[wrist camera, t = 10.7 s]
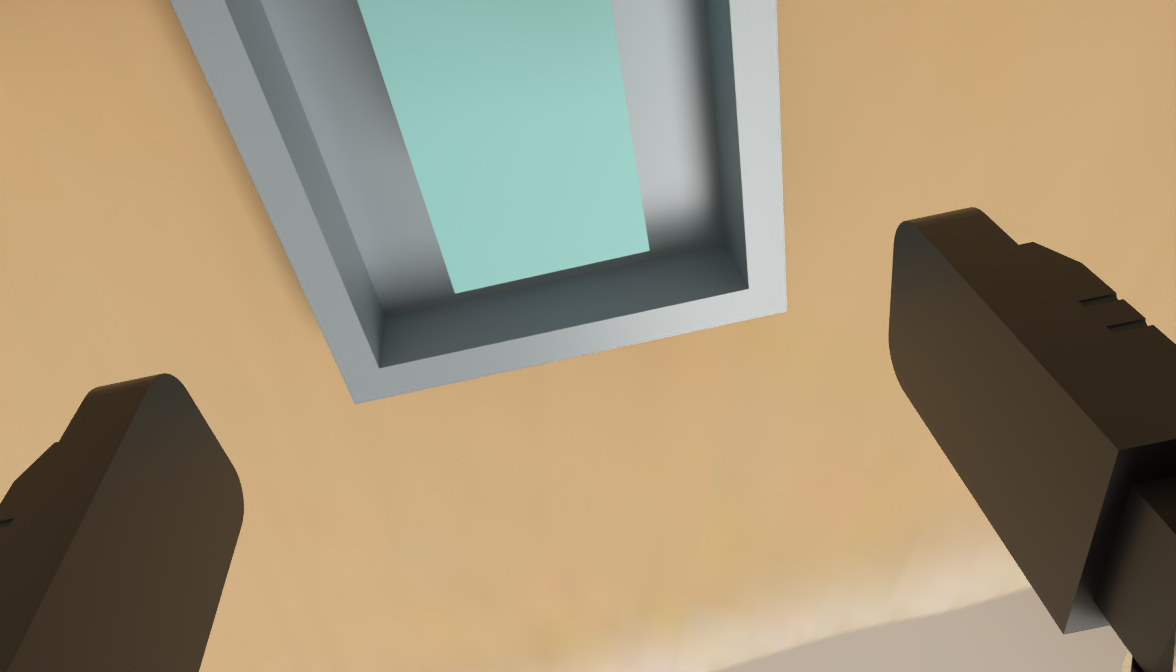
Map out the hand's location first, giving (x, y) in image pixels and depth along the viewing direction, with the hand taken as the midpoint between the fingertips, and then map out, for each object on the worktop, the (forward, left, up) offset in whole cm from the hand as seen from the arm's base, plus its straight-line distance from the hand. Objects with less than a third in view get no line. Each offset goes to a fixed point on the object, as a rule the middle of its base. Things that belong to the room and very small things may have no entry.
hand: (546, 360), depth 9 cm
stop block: (0, 0, -13) cm, 13 cm away
